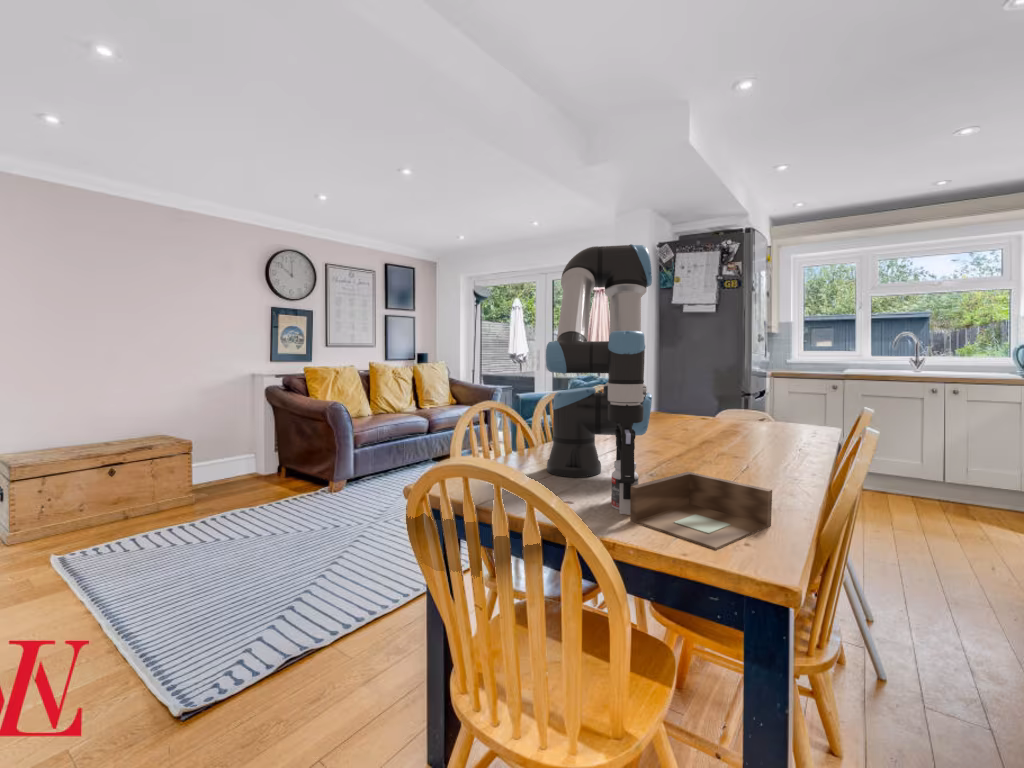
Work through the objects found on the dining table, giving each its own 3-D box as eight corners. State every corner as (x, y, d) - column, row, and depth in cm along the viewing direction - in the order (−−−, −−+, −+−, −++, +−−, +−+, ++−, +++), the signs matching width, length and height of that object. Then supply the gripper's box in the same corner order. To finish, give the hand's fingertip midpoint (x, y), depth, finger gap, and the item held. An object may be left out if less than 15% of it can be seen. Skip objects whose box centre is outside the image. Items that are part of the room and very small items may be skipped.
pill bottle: (605, 506, 110) (606, 461, 109) (622, 501, 114) (622, 458, 113) (627, 513, 106) (627, 466, 105) (643, 507, 109) (644, 462, 108)
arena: (630, 520, 101) (630, 486, 100) (687, 502, 113) (687, 471, 112) (716, 549, 86) (717, 509, 86) (771, 525, 98) (772, 489, 97)
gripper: (650, 409, 97) (648, 524, 98) (637, 398, 118) (636, 492, 120) (610, 408, 98) (609, 522, 99) (605, 398, 119) (604, 491, 121)
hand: (624, 506), depth 109 cm, fingers open, 9 cm apart
